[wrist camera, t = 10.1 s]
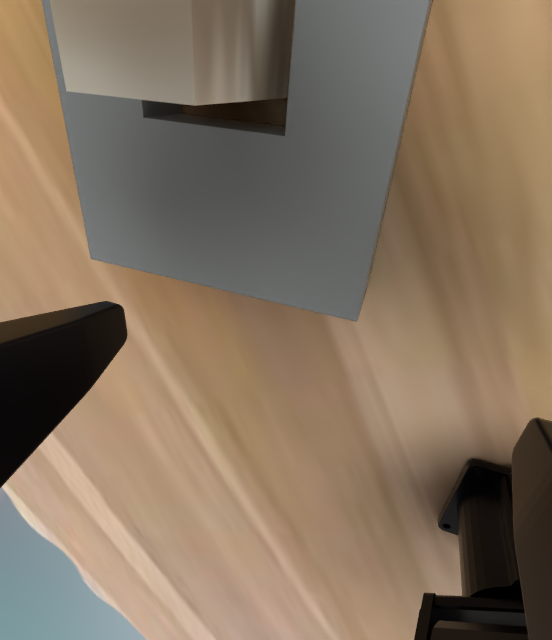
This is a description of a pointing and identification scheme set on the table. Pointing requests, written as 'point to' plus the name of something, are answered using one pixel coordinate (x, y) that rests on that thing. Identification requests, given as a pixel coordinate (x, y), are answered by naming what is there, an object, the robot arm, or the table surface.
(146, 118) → the socket block
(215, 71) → the cream peg
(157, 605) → the table surface
